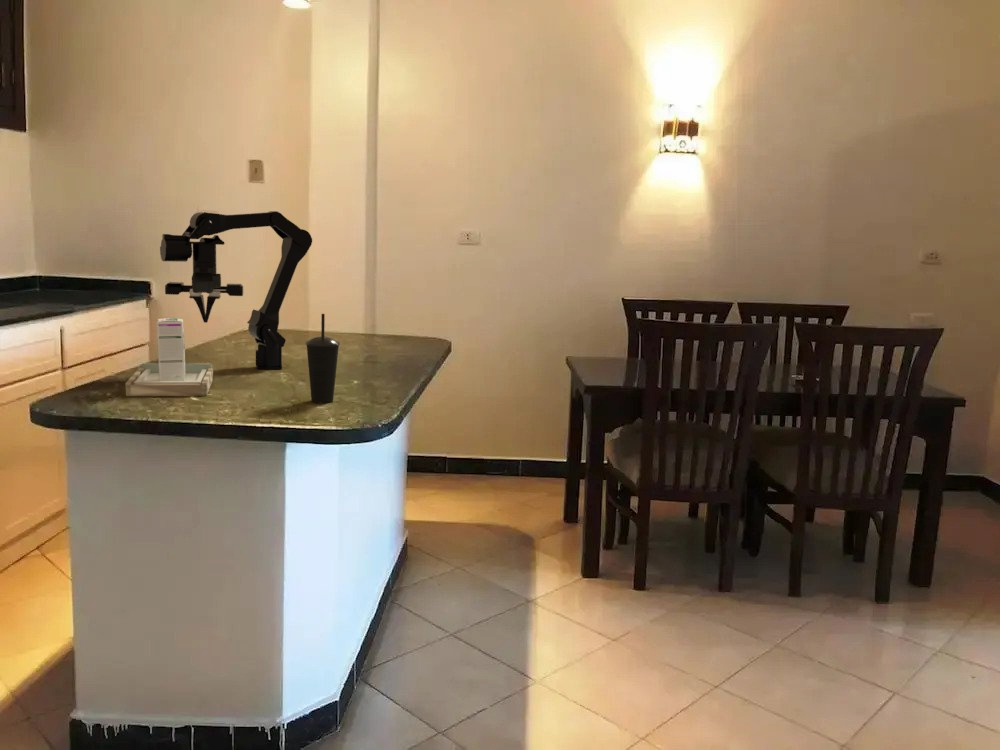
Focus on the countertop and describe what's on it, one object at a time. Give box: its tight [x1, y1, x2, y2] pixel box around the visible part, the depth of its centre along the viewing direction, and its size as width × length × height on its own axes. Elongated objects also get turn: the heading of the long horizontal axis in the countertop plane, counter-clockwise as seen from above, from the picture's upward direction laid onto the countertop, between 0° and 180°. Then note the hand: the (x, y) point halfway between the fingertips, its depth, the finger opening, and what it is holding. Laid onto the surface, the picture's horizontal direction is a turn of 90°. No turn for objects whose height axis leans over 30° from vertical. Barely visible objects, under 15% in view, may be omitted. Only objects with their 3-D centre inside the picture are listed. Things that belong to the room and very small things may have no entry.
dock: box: [125, 367, 214, 397], centre depth 194 cm, size 19×17×3 cm
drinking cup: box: [305, 313, 341, 404], centre depth 186 cm, size 8×8×20 cm
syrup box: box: [156, 317, 186, 381], centre depth 192 cm, size 6×6×14 cm
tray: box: [134, 362, 212, 384], centre depth 195 cm, size 18×16×3 cm
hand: (205, 322), depth 214 cm, fingers closed
